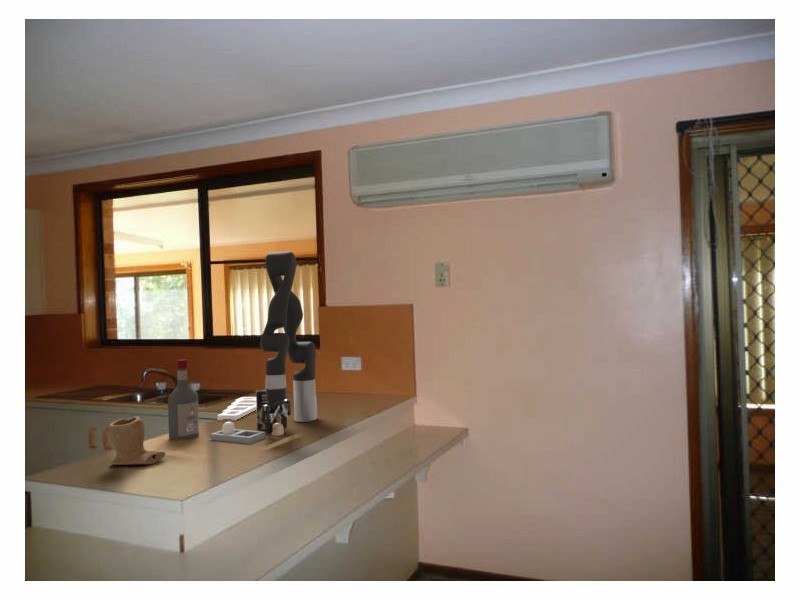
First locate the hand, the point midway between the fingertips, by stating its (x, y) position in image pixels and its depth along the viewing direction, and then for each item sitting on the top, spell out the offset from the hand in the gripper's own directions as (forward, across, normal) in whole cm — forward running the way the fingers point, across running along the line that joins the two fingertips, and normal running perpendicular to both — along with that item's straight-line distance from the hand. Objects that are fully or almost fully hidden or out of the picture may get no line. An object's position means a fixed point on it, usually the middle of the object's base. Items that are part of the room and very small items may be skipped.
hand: (277, 430), depth 211 cm
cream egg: (+2, +10, -14) cm, 17 cm away
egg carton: (+3, +10, -10) cm, 14 cm away
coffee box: (+3, -9, -11) cm, 15 cm away
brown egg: (+3, 0, 0) cm, 3 cm away
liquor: (+3, +14, -32) cm, 35 cm away
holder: (+3, -40, -52) cm, 65 cm away
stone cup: (+4, +43, -24) cm, 49 cm away
